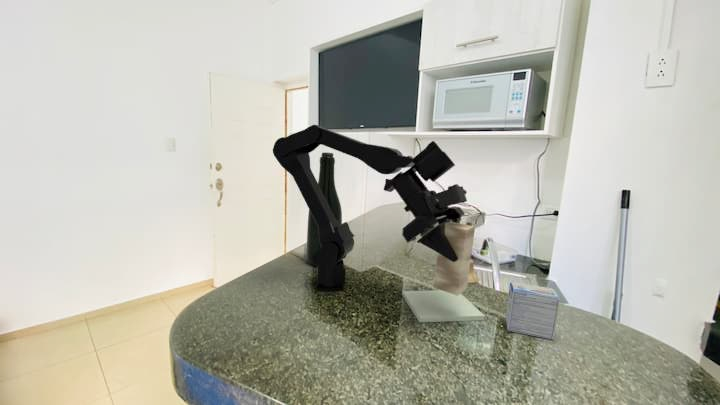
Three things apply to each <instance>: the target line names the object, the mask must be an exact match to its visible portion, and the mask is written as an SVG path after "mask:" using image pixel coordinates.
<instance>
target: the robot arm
mask: <svg viewBox="0 0 720 405" xmlns="http://www.w3.org/2000/svg"><path fill="white" fill-rule="evenodd" d="M320 145H322V146H324V147H327V148H330V149H333V150H335V151H337V152H340V153H342V154H345V155H348V156H350V157H352V158H353V157H354V158H355V159H358V160H360V161H361V162H362V163H364V164H365V165H367V167H370V168H371V169H372V170H374V171H376V172H377V173H379V174H381V175H392V174H396V175H395V176H394V177H392V178H391V179H388V178H385V183H384V185H383V186H384V187H383V191H385V192H388V193H391V192H393V191H394V190H395V191H396V193H397V194H398V196H399V197H400V199H401V200H402V202H403V203H404V205H405V206H404V207H403V210H404V211H405V212H407V213H408V212H410V213H411V214H412V215H413V217H414V218H413V219H412V220H411V221H410V222H409V223H408V224H406V225H405V226H404V227H403V228H402V232H401V233H402V235H401V236H403V238H404V240H405V241H406V243H407V244H409V243H412V242H414V241H415V240H417V237H418V236H419V235H420V237H421V238H419V239H418V240H417V241H416V242H417V243H418V244H422V245H423V246H425V247H427V248H429V249H430V250H432V251H435V252H436V253H437V254H438V253H439V254H441V255H442V256H444V257H446V258H447V259H449V260H451V261H452V262H455V261H457V260H458V257H457V255H456V253H455V251H454V250H453V248H452V246H451V244H450V243H449V241H448V239H447V237H446V236H445V233H444V232H445V223H448V222H455V223H460V224H461V221H462V217H463V216H464V215H465V212H464V210H463V209H462V208H461V207H460V206H456V205H457V204H462V203H465V202H468V200H467V197H466V194H467V190H466V189H464V187H463V186H462V185H461V186H460V185H459V184H457V183H456V184H453V185H450V186H448V187H447V189H446V190H442V191H439V192H436V191H435V190H429V188H428V187H427V186H426V184H425V182H428V181H431V182H433V183H434V182H436V181H437V180H438V179H439V178H441V177H442V176H443V175H445V174H446V173H447V172H448V171H450V170H451V169H452V168H454V167H455V166H456V164H455V163H454V161H453V160H452V159H451V158H450V157H449V155H448V154H447V153H446V152H445V151H443V150H442V148H441V147H440V146H439V145H438V144H437V143H436V141H435V140H432V141H431V142H430V143H428V144H427V146H425V148H423V149H422V150H421V151H420V152H419V153H417V155H415V156H414V157H413V156H412V155H407V156H405V155H403V153H402V152H401V151H400V150H399V149H396V148H392V147H388V146H382V145H378V144H377V145H376V144H369V143H366V142H362V141H360V140H357V139H354V138H352V137H349V136H347V135H343V134H341V133H338V132H336V131H333V130H330V129H328V128H326V127H325V126H321V125H318V124H312V125H310V126H308V127H306V128H304V129H302V130H300V131H297V132H294V133H292V134H289V135H288V136H286V137H279V138H277V139H276V141H275V142H274V144H273V147H272V153H273V156H274V158H275V159H276V160H277V163H279V165H280V166H281V167H282V168H283V169H284V170H285V171H286V172H288V174H290V175H291V176H292V178H293V180H294V181H295V184H296V186H297V188H298V190H299V191H300V194H301V196H302V198H303V199H304V201H305V204H306V206H307V208H308V211H309V210H310V212H311V214H312V216H313V218H314V220H315V222H316V224H317V226H318V229H319V242H320V245H321V248H322V249H321V250H319V251H318V252H317V253H316V254H315V255H314V256H312V259H313V262H314V265H316V266H315V267H316V268H317V270H316V279H315V281H316V282H315V283H316V291H343V290H344V285H346V266H345V265H344V259H346V258H347V255H348V254H349V253H350V252H352V250H353V249H354V247H355V246H354V245H355V239H354V237H355V234H354V233H353V232H352V230H351V229H350V225H349V223H348V221H344V222H342V224H341V223H340V222H339V221H338V220H337V219H336V218H335V216H334V214H333V212H332V210H331V208H330V206H329V204H328V202H327V200H326V198H325V196H324V194H323V192H322V190H321V189H320V187H319V185H318V180H317V179H316V177H315V175H314V173H313V171H312V169H311V156H310V153H312V152H313V151H315V149H317V148H318V147H320ZM403 168H404V169H405V168H408V169H407V170H406V171H404V172H403V171H401V170H402V169H403ZM417 173H418V174H417ZM419 176H420V177H421V178H422V179H423V180H424V181H425V182H423V181H422V179H421V178H420V177H419ZM454 205H455V206H454ZM450 206H451V207H450Z"/></svg>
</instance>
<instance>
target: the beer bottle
mask: <svg viewBox="0 0 720 405" xmlns="http://www.w3.org/2000/svg"><path fill="white" fill-rule="evenodd" d="M335 163H336V160H335V157H334V153H333V152H322V153H321V156H320V157H319V173H318V174H319V175H318V179H317V183H318V185H319V187H320V189H321V190H322V192H323V194H324V196H325V198H326V200H327V202H328V204H329V206H330V208H331V210H332V212H333V214H334V216H335V218H336V219H337V220H338V221H339V222H340V223H341V224H343V215H342V214H343V213H342V212H343V210H342V206H341V201H340V197H339V195H338V192H337V189H336V188H337V187H336V182H335ZM307 216H308V218H307V230H306V231H307V232H306V254H305V258H306V262H307V263H308V264H309V265H311V266H313V267H314V266H315V267H317V266H316V265H314V262H313V259H312V256H314V255H315V254H316V253H317V252H318V251H319V250H321V249H322V248H321V245H320V242H319V229H318V226H317V224H316V222H315V220H314V218H313V216H312V214H311V212H310V210H309V209H308V215H307Z"/></svg>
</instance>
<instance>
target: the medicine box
mask: <svg viewBox="0 0 720 405" xmlns="http://www.w3.org/2000/svg"><path fill="white" fill-rule="evenodd" d="M508 289H509V290H508V293H507V294H508V296H507V305H506V309H505V310H506V312H505V323H506V327H507V328H506V329H507V331H509V332H514V333H518V334H523V335H528V336H533V337H538V338H542V339H546V340H547V339H548V340H552V341H554V340H555V332H556V329H557V328H556V326H557V320H558V314H559V309H560V303H561V302H560V301H561V298H560V297H559V295H558V293H557V292H556V291H555V290H554V288H550V287H546V286H539V285H534V284H533V285H532V284H528V283H520V282H514V281H510V282H509V288H508Z"/></svg>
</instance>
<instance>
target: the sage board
mask: <svg viewBox="0 0 720 405" xmlns="http://www.w3.org/2000/svg"><path fill="white" fill-rule="evenodd" d="M401 296H402V297H403V299H404V300H405V302H406V303H407V305H408V307H409V308H410V309H411V312H412V313H413V314H414V317H415V318H416V319H417V320H418V322H419V323H439V322H445V323H447V322H470V321H471V322H472V321H485V314H483V313H482V312H481V311H480V310H479V309H478V308H477V307H476V306H475V305H473V303H471V302H470V301H469V300H468V298H466V297H465V296H464V295H463V293H461V294H459V295H458V296H457V295H454V294H451V293H448V292H445V291H443V290H440V289H438V290H403V291H402V292H401Z"/></svg>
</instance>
